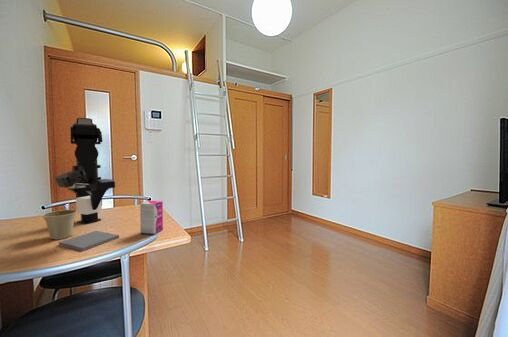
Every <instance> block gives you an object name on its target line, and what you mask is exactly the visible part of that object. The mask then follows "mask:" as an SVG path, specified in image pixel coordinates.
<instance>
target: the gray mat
mask: <svg viewBox="0 0 508 337" xmlns="http://www.w3.org/2000/svg"><path fill="white" fill-rule="evenodd" d="M119 238H120V235H119V234H116V233H115V234H114V233H109V232H105V231H98V230H93V231H90V232H88V233H84V234H81V235H78V236H75V237H71V238H68V239H65V240H64V239H63V240H62V241H58V246H59V247H60V246H61V247H65V248H70V249H73V250H76V251H80V252H84V251H87V250H90V249H92V248H95V247H98V246H102V245H105V244H106V243H109V242H113V241H115V240H118V239H119Z"/></svg>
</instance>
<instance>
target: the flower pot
mask: <svg viewBox="0 0 508 337" xmlns="http://www.w3.org/2000/svg"><path fill="white" fill-rule="evenodd" d="M76 214H77V210H76V209H61V210H54V211H53V210H52V211H50V212H46V213H44V214H42V215H41V217H43V219H44V221H45V223H46V228H47V230H48V234H49V239H50V240H57V241H58V240H62V239H63V240H64V239H66V238H68V237H72V236H73V235H74V224H75V218H76Z"/></svg>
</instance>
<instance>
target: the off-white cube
mask: <svg viewBox="0 0 508 337" xmlns="http://www.w3.org/2000/svg"><path fill="white" fill-rule="evenodd" d="M102 206H103V201H102V202H101V201H100V203H99V205H98V207H97V209H96V210H93V209H92V204H91V198H90V196H85V197H79V198H76V197H75V208H76V209H75V210H76V211H77V212H76V214H80V215H81V214H86V215H87V214H92V213H96V212H98V213H100V212H102V211H103V208H102Z"/></svg>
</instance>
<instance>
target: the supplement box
mask: <svg viewBox="0 0 508 337" xmlns="http://www.w3.org/2000/svg"><path fill="white" fill-rule="evenodd" d="M163 202H164V201H162V200H146V201H143V202H141V203H140V205H139V206H140V207H139V208H140V211H139V214H140V215H139V216H140V219H139V220H140V221H139V222H140V235H149V236H155V235H157V234H159V233H160V232H162V231H163V230H164V226H163V225H164V222H163V221H164V219H163V218H164V217H163V216H164V214H163V213H164V210H163V209H164V208H163Z"/></svg>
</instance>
